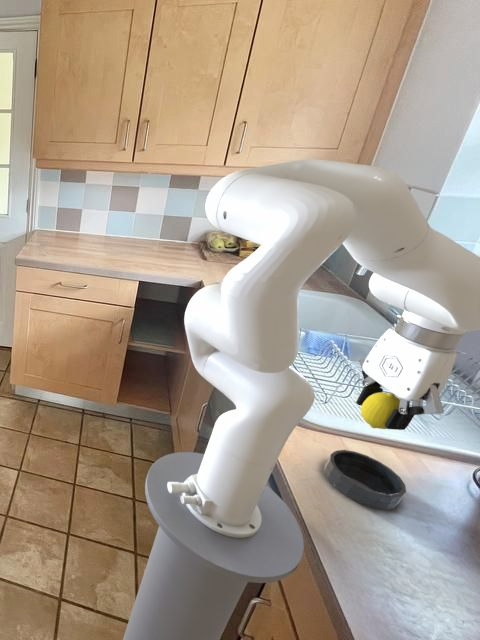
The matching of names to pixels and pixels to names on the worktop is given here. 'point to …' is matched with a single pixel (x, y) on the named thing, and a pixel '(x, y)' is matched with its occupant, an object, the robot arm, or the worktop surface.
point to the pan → (364, 479)
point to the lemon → (379, 409)
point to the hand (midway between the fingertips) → (379, 415)
